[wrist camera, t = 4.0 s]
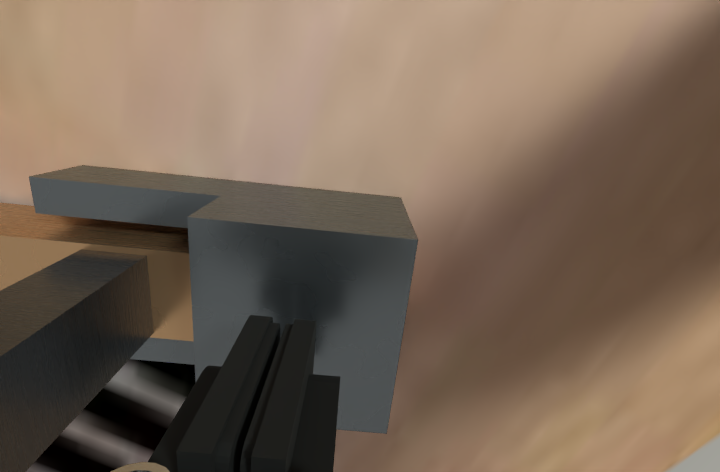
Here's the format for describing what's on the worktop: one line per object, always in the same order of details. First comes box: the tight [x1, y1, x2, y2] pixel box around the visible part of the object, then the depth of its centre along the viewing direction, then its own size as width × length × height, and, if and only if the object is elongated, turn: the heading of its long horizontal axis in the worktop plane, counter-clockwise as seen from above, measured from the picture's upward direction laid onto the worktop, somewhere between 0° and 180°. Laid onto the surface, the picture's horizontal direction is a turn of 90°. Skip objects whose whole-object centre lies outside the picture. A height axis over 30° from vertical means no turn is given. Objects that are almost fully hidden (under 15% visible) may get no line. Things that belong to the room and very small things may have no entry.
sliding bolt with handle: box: [0, 203, 194, 472], centre depth 11 cm, size 16×3×8 cm, turn 84°
